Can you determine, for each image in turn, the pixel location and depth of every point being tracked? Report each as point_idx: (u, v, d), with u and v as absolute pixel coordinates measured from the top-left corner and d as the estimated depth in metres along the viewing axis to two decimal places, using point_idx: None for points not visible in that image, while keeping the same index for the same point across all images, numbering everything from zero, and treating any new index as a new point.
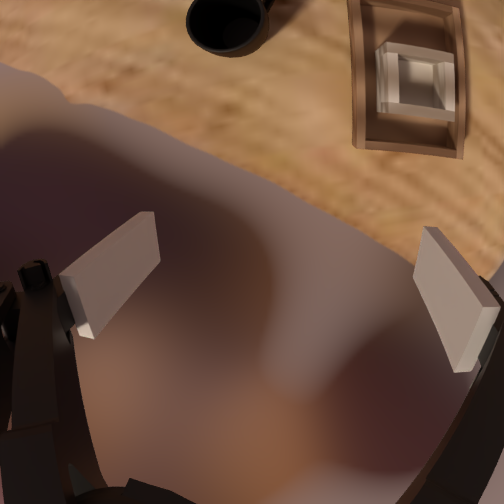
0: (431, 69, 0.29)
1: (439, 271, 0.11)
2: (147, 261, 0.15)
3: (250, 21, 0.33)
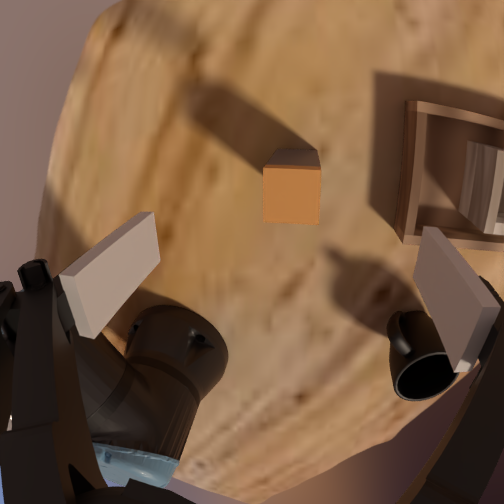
0: None
1: (439, 271, 0.11)
2: (147, 261, 0.15)
3: None
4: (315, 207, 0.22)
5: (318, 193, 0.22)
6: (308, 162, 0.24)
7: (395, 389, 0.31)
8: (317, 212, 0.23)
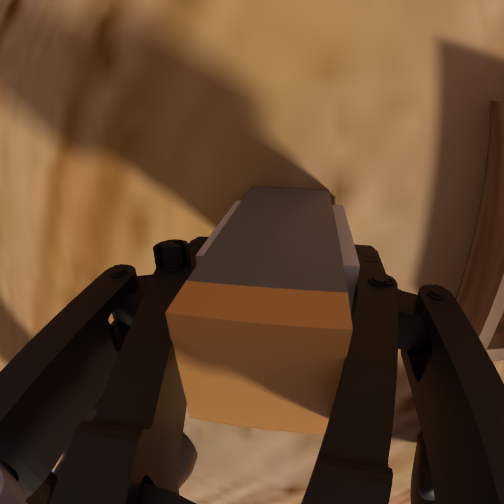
0: None
1: None
2: None
3: None
4: (322, 408, 0.07)
5: (334, 382, 0.07)
6: (311, 259, 0.09)
7: None
8: (326, 416, 0.08)
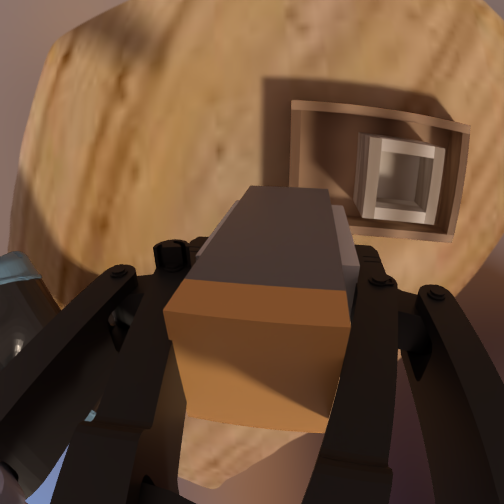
0: None
1: None
2: None
3: None
4: (320, 407, 0.07)
5: (333, 381, 0.07)
6: (310, 258, 0.09)
7: None
8: (324, 414, 0.08)
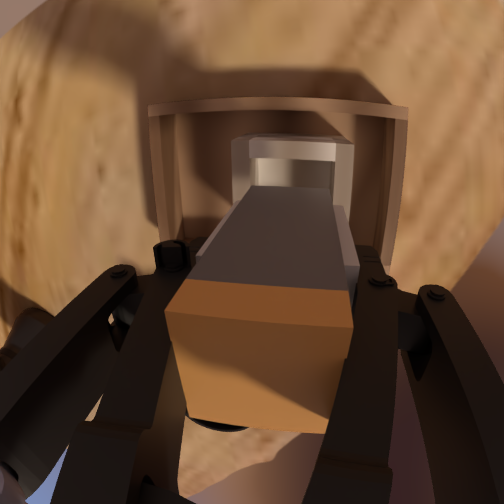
0: None
1: None
2: None
3: None
4: (322, 407, 0.07)
5: (335, 381, 0.07)
6: (312, 258, 0.09)
7: None
8: (326, 415, 0.07)
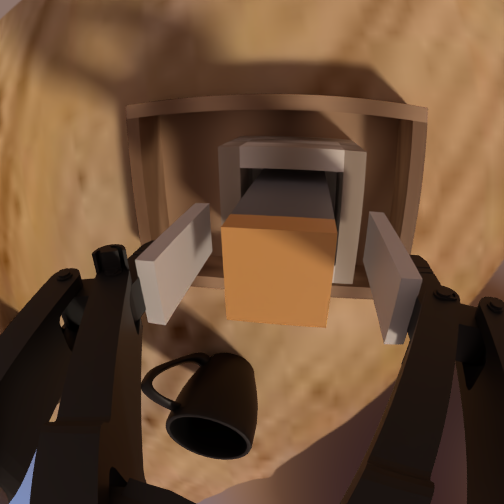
0: None
1: (377, 250, 0.13)
2: (203, 251, 0.16)
3: None
4: (322, 300, 0.12)
5: (329, 276, 0.11)
6: (311, 205, 0.13)
7: (174, 440, 0.27)
8: (325, 308, 0.12)
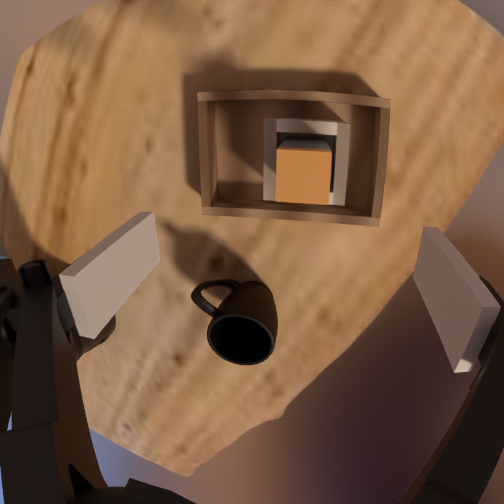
0: None
1: (439, 270, 0.11)
2: (147, 261, 0.15)
3: None
4: (325, 188, 0.23)
5: (328, 174, 0.23)
6: (318, 146, 0.25)
7: (212, 347, 0.38)
8: (327, 192, 0.23)
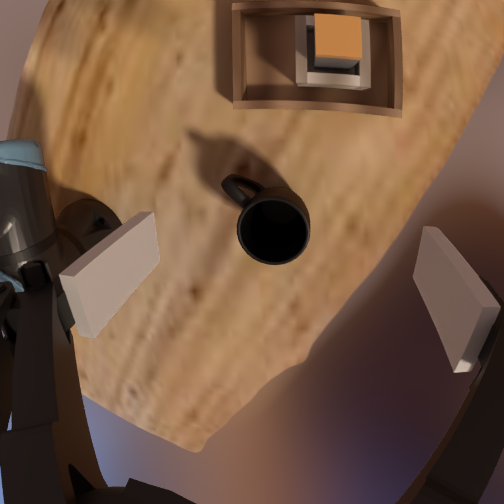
0: (311, 34, 0.31)
1: (439, 271, 0.11)
2: (147, 261, 0.15)
3: None
4: (358, 44, 0.22)
5: (360, 33, 0.21)
6: None
7: (241, 244, 0.37)
8: (360, 47, 0.22)
